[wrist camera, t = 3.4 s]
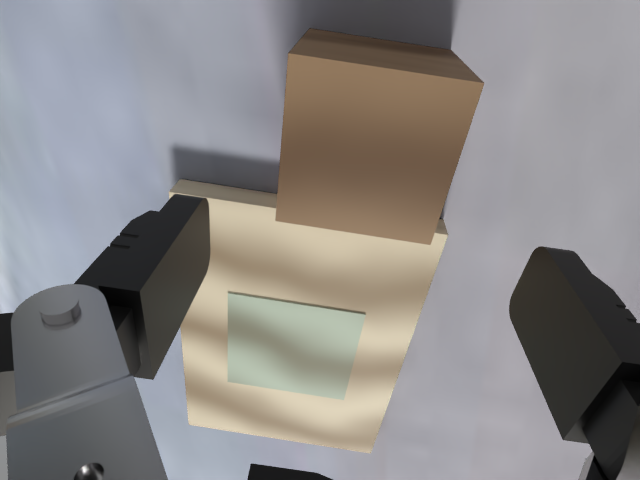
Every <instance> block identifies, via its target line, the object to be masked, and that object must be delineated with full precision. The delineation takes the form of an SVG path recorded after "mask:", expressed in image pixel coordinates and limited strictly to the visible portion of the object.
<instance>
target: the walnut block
mask: <svg viewBox="0 0 640 480" xmlns="http://www.w3.org/2000/svg"><path fill="white" fill-rule="evenodd" d="M483 86H484V82H483V81H482V80H481V79H480V78H479V77H478V76H477V75H476V74H475V73H474V72H473V71H472V70H471V69H470V68H469V67H468V66H467V65H466V64H465V63H464V62H463V61H462V60H461V59H460V58H459V57H458V56H457V55H456V54H455V53H454V52H453V51H452V50H448V49H442V48H435V47H429V46H422V45H416V44H409V43H403V42H396V41H389V40H383V39H376V38H370V37H363V36H357V35H350V34H344V33H337V32H331V31H324V30H318V29H311V28H309V30H308V31H307V32H306V33H305V34H304V35H303V37H302V38H301V39H300V40H299V41H298V42H297V44H296V45H295V46H294V47H293V48H292V49H291V51H290V52H289V53H288V64H287V77H286V89H285V102H284V115H283V128H282V141H281V154H280V167H279V179H278V192H277V205H276V218H275V221H278V222H285V223H291V224H297V225H304V226H310V227H317V228H323V229H330V230H336V231H343V232H349V233H356V234H362V235H368V236H375V237H381V238H388V239H394V240H401V241H407V242H414V243H420V244H427V245H431V242H432V239H433V236H434V233H435V230H436V227H437V224H438V221H439V218H440V215H441V212H442V209H443V206H444V203H445V200H446V197H447V194H448V191H449V188H450V185H451V182H452V179H453V176H454V173H455V170H456V167H457V164H458V161H459V158H460V155H461V152H462V149H463V146H464V143H465V140H466V137H467V134H468V131H469V128H470V125H471V122H472V119H473V116H474V113H475V110H476V107H477V104H478V101H479V98H480V95H481V92H482V89H483Z"/></svg>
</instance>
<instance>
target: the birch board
mask: <svg viewBox="0 0 640 480" xmlns="http://www.w3.org/2000/svg"><path fill="white" fill-rule="evenodd" d="M174 194H182V195H189V196H196V197H203V198H207V200H208V203H209V218H210V262H209V267H208V270H207V273H206V276H205V278H204V280H203V282H202V284H201V286H200V288H199V290H198V292H197V294H196V296H195V298H194V300H193V302H192V304H191V306H190V308H189V310H188V312H187V314H186V316H185V318H184V320H183V322H182V324H181V326H180V327H181V339H182V350H183V362H184V374H185V386H186V397H187V409H188V421H189V425H194V426H200V427H207V428H213V429H219V430H226V431H232V432H238V433H245V434H251V435H257V436H264V437H270V438H276V439H283V440H289V441H295V442H302V443H308V444H314V445H321V446H327V447H333V448H340V449H346V450H352V451H359V452H365V453H371V451H372V448H373V446H374V443H375V440H376V437H377V434H378V431H379V429H380V426H381V423H382V420H383V417H384V414H385V412H386V409H387V406H388V403H389V400H390V398H391V395H392V392H393V389H394V386H395V383H396V381H397V378H398V375H399V372H400V369H401V367H402V364H403V361H404V358H405V355H406V352H407V350H408V347H409V344H410V341H411V338H412V335H413V333H414V330H415V327H416V324H417V321H418V319H419V316H420V313H421V310H422V307H423V304H424V302H425V299H426V296H427V293H428V290H429V287H430V285H431V282H432V279H433V276H434V273H435V271H436V268H437V265H438V262H439V259H440V256H441V254H442V251H443V248H444V245H445V242H446V240H447V237H448V233H447V230H446V227H445V223H444V220H443V219H439V221H438V224H437V227H436V230H435V233H434V236H433V239H432V242H431V245H427V244H420V243H414V242H407V241H401V240H394V239H388V238H381V237H375V236H368V235H362V234H356V233H349V232H343V231H336V230H330V229H323V228H317V227H310V226H304V225H297V224H291V223H285V222H278V221H275V218H276V205H277V194H274V193H268V192H261V191H255V190H248V189H242V188H235V187H229V186H222V185H216V184H210V183H203V182H197V181H190V180H184V179H180V180H179V181H178V182H177V183H176V184H175V185H174V187H173V188H172V189H171V190H170V191H169V198H171V197H172V196H173V195H174Z"/></svg>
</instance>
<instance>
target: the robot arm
mask: <svg viewBox="0 0 640 480" xmlns="http://www.w3.org/2000/svg"><path fill="white" fill-rule="evenodd" d="M209 262H210V218H209V203H208V200H207V198H203V197H196V196H189V195H182V194H174V195H173V196H172V197H171V198H170V199H169V201H168V202H167V203H166V204H165V205H164V207H163V208H162V209H161V210H160V211H159V212H157V211H148V212H146V213H144V214H143V215H141V216H139V217H137V218H135V219H133V220H131V221H130V223H129V224H128V225H127V226H126V227H125V228H124V229H123V230H122V231H121V232H120V236H117V237H116V238H115V239H114V240H113V241H112V242H111V243H110V247H109V246H108V247H107V248H106V249H105V250H104V251H103V252H102V253H101V254H100V256H99V257H98V258H97V259H96V260H95V261H94V262H93V263H92V264H91V265H90V267H89V268H88V269H87V270H86V271H85V272H84V273H83V274H82V275H81V276H80V278H79V279H78V280H77V281H76V282H75V283H74V284H68V285H61V286H55V287H52V288H48V289H46V290H43V291H40V292H38V293H36V294H34V295H33V296H31V297H29V298H28V299H26V300H25V301H24V302H23V303H21V304H20V305H19V306H18V308H17V309H16V310H15V312H14V313H4V314H0V436H4V435H6V439H7V440H6V441H7V464H8V480H168V478H167V475H166V472H165V469H164V466H163V463H162V460H161V457H160V454H159V451H158V448H157V445H156V442H155V439H154V436H153V433H152V430H151V427H150V424H149V421H148V418H147V414H146V411H145V408H144V405H143V402H142V399H141V396H140V393H139V390H138V387H137V384H136V381H135V379H134V377H138V378H145V379H152V380H153V379H154V377H155V375H156V373H157V371H158V369H159V367H160V365H161V363H162V361H163V359H164V357H165V355H166V353H167V351H168V349H169V347H170V346H171V344H172V342H173V340H174V338H175V336H176V334H177V332H178V330H179V328H180V326H181V324H182V322H183V320H184V318H185V316H186V314H187V312H188V310H189V308H190V306H191V304H192V302H193V300H194V298H195V296H196V294H197V292H198V290H199V288H200V286H201V284H202V282H203V280H204V278H205V276H206V273H207V270H208V267H209ZM625 307H626V306H625V304H624V303H623V302H622V300H621V299H620V298H619V297H618V295H617V294H616V293H615V292H614V290H613V289H611V288H610V287H609V286H608V285H606V284H605V283H604V282H602V281H601V280H600V279H598V278H597V277H596V276H595V275H593V274H592V273H591V272H590V270H589V269H588V268H587V267H586V265H585V264H584V263H583V261H582V260H581V259H580V257H579V256H578V255H577V254H576V253H575V252H574V251H570V250H563V249H556V248H549V247H538V248H536V249H535V250H534V251H533V253H532V255H531V256H530V259H529V261H528V263H527V265H526V267H525V269H524V271H523V273H522V275H521V277H520V279H519V281H518V283H517V285H516V287H515V290H514V292H513V294H512V296H511V299H510V305H509V313H510V319H511V321H512V324H513V326H514V328H515V331H516V333H517V335H518V338H519V340H520V342H521V344H522V347H523V349H524V351H525V354H526V356H527V358H528V361H529V363H530V365H531V368H532V370H533V372H534V374H535V377H536V379H537V381H538V384H539V386H540V388H541V391H542V393H543V395H544V398H545V400H546V402H547V404H548V407H549V409H550V411H551V414H552V416H553V418H554V421H555V423H556V425H557V428H558V430H559V432H560V434H561V437H562V439H563V440H567V441H574V442H581V443H588V444H590V446H591V449H592V451H593V452H592V453H591V454H590V455H589V456H588V457H587V459H586V460H585V462H584V465H583V468H582V471H581V474H580V476H579V479H578V480H640V323H636V320H637V319H636V318H635V317H634V316H633V314H632V313H631V312H630V311H629V309H625ZM248 480H332V479H330V478H328V477H325V476H323V475H321V474H318V473H314V472H307V471H300V470H293V469H286V468H279V467H272V466H265V465H258V464H251V466H250V470H249V475H248Z"/></svg>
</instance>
